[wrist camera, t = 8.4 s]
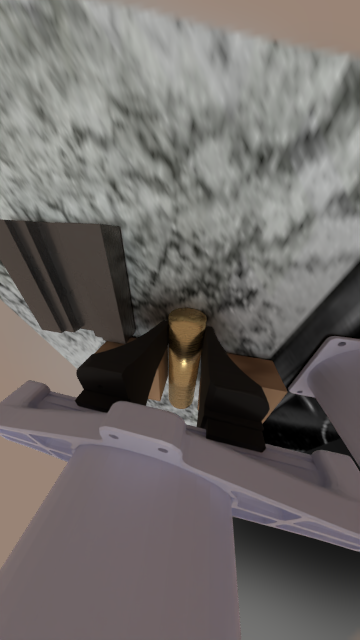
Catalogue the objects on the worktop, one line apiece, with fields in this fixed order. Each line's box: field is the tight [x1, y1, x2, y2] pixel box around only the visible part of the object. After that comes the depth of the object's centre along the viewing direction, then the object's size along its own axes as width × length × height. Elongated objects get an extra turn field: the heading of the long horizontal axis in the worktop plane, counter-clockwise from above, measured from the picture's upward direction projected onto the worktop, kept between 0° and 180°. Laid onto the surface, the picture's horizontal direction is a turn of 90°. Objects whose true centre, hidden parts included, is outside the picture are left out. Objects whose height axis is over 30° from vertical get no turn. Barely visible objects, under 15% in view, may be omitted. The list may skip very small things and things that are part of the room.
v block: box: [0, 220, 136, 344], centre depth 13 cm, size 10×10×2 cm
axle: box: [169, 308, 207, 409], centre depth 15 cm, size 12×3×3 cm, turn 178°
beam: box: [95, 337, 287, 423], centre depth 16 cm, size 18×6×3 cm, turn 87°
